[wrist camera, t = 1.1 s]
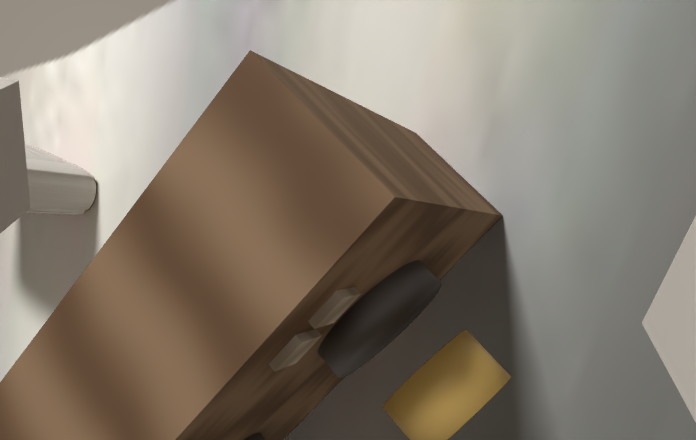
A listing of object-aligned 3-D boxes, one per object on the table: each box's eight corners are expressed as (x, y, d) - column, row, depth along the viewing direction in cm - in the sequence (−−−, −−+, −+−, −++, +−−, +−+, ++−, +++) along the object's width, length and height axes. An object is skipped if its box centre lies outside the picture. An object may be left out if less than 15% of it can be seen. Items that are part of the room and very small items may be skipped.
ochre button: (476, 322, 32) (449, 338, 27) (519, 367, 31) (499, 392, 26) (405, 392, 33) (365, 420, 28) (443, 436, 32) (410, 473, 27)
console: (415, 133, 41) (250, 50, 23) (520, 232, 38) (426, 228, 20) (179, 400, 49) (-89, 499, 30) (251, 501, 46) (3, 677, 27)
